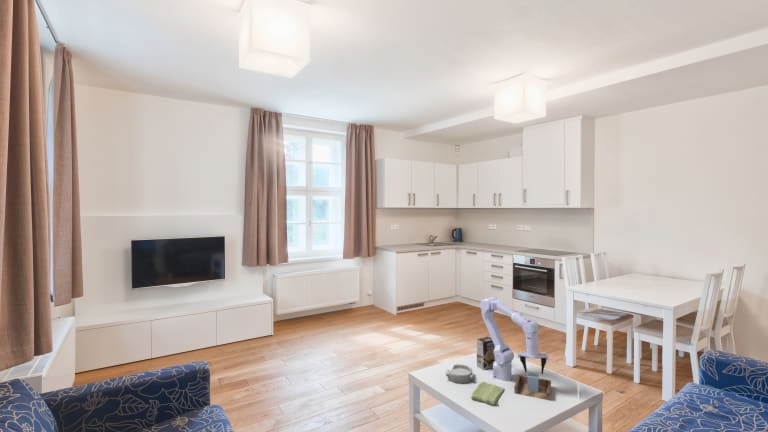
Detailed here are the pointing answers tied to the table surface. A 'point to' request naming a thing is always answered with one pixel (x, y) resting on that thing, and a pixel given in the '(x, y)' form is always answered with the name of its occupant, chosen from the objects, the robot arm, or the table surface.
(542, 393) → the walnut crate
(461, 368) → the dish
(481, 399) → the washcloth
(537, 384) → the slate block
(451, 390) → the table surface
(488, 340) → the coffee box
